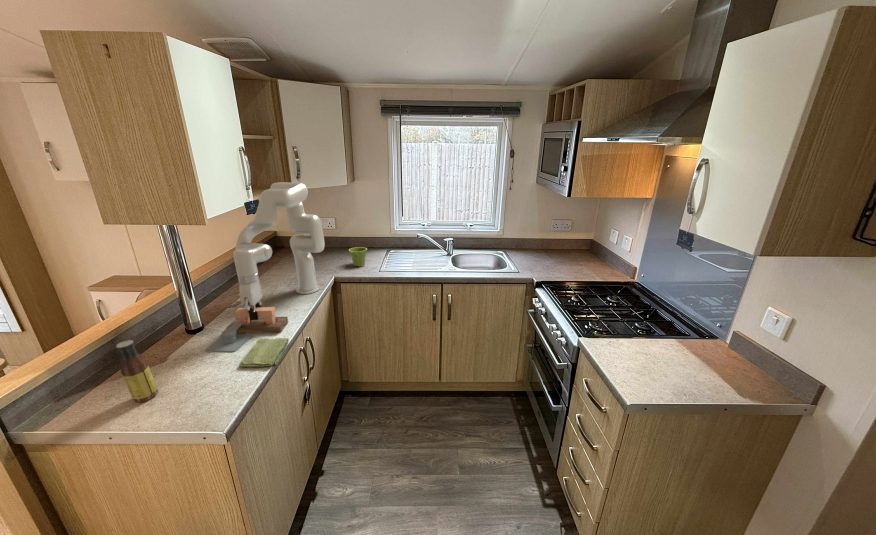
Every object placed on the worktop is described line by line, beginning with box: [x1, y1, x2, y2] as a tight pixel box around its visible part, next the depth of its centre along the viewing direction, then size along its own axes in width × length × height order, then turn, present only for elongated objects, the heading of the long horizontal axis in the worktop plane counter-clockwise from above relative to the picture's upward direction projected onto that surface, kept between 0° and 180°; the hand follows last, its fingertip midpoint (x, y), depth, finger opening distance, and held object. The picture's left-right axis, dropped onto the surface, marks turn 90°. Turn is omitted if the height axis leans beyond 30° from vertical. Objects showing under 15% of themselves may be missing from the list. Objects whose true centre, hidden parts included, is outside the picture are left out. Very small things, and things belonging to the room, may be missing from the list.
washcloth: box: [238, 337, 290, 368], centre depth 128 cm, size 13×18×3 cm
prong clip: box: [234, 306, 276, 325], centre depth 145 cm, size 4×15×8 cm, turn 94°
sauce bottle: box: [115, 339, 159, 403], centre depth 103 cm, size 7×6×20 cm
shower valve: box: [204, 322, 253, 353], centre depth 136 cm, size 12×6×15 cm
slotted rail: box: [225, 316, 289, 334], centre depth 146 cm, size 9×22×3 cm, turn 94°
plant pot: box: [348, 246, 368, 267], centre depth 224 cm, size 12×12×11 cm
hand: (256, 316), depth 145 cm, fingers open, 3 cm apart
